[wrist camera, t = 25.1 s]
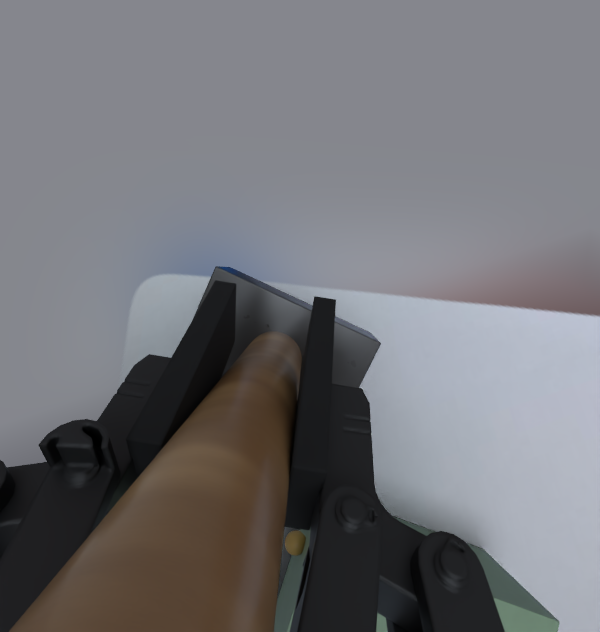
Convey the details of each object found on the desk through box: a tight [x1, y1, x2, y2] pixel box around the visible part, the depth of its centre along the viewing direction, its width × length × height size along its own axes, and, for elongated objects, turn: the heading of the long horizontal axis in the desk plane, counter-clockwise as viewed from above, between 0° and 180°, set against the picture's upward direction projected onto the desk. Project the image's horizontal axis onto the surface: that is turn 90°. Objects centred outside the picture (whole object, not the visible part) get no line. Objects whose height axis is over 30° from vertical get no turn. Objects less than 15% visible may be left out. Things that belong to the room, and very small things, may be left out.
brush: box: [9, 267, 381, 632], centre depth 12 cm, size 9×6×20 cm, turn 65°
